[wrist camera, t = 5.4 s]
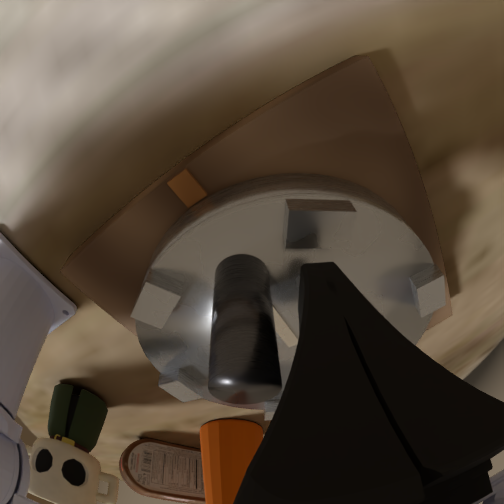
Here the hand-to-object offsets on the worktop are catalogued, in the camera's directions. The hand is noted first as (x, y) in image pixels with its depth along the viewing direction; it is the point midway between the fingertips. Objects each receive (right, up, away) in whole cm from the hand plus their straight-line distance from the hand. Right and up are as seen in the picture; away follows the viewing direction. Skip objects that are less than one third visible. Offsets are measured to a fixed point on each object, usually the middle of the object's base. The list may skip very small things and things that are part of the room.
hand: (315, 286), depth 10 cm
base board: (0, -1, +8) cm, 8 cm away
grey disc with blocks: (0, -2, +7) cm, 7 cm away
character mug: (-20, -14, +17) cm, 29 cm away
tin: (-12, -25, +25) cm, 37 cm away
